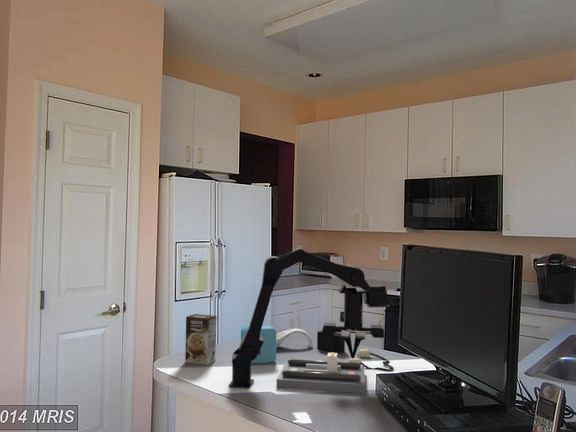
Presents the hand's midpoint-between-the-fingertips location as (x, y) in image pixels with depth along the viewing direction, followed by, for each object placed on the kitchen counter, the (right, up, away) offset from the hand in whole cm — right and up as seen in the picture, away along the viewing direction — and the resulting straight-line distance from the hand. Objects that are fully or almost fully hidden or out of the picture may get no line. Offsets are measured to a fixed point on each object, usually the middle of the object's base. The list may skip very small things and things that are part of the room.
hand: (352, 357), depth 145 cm
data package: (-31, -8, +21) cm, 38 cm away
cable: (+10, -9, +21) cm, 24 cm away
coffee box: (-51, -8, +20) cm, 55 cm away
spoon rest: (-22, -9, +41) cm, 47 cm away
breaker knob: (-6, -5, +1) cm, 8 cm away
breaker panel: (-9, -7, +1) cm, 12 cm away
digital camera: (-3, -9, +37) cm, 38 cm away
